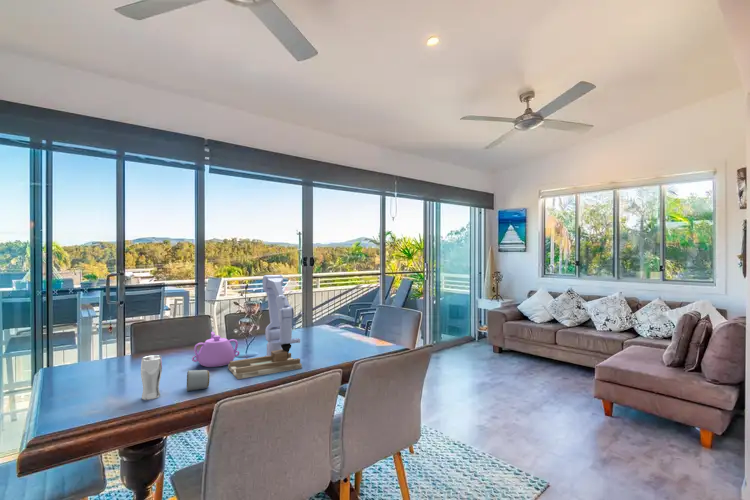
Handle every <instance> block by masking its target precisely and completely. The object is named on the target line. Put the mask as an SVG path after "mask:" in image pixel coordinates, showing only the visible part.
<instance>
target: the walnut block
mask: <svg viewBox="0 0 750 500" xmlns="http://www.w3.org/2000/svg"><path fill="white" fill-rule="evenodd" d="M284 360H288V357H287V351H285V350H283V349H281V350H276V351H271V362H278V361H284Z"/></svg>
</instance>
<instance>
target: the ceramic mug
mask: <svg viewBox="0 0 750 500" xmlns="http://www.w3.org/2000/svg"><path fill="white" fill-rule="evenodd" d="M208 387H210V371H209V370H207V369H199V370H198V369H197V370H196V369H195V370H187V375H186V391H187V392H190V391H196V390H202V389H203V390H204V389H207V388H208Z"/></svg>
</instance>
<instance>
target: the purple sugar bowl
mask: <svg viewBox="0 0 750 500" xmlns="http://www.w3.org/2000/svg"><path fill="white" fill-rule="evenodd" d="M231 342H235V347H234V346H233V345H232V343H231ZM198 346H201V347H200V349H199V351H197V350H198V349H197V347H198ZM238 346H239V343H238V340H237V339H235V338H232V339H228V338H226V337H221V335H218V334H217V335H216V332H214V331H211V332H210V338H209V339H208V338H207V339H206V340H205V341H204V342H201V341H200V342H198V343H195V345H194V347H193V351H194V355H193V356H192V358H191V361H192V362H193V363H194V362H195V363H197V362H198V363H199V364H200V365H201V366H202V367H206V368H215V367H216V368H218V367H223V366H228V365H229V361H234V359H235V357H239V355H240V351H239V350H237V349H238Z"/></svg>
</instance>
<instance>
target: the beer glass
mask: <svg viewBox="0 0 750 500" xmlns="http://www.w3.org/2000/svg"><path fill="white" fill-rule="evenodd" d="M162 359H163V357H162V356H161V355H157V354H156V355H148V356H144V357H142V358H141V363H140V378H141V382H142V384H141V385H142V394H141V400H143V401H152V400H155V399H158V398H160V397H161V392H160V381H161V378H162V371H163V364H162V363H163V361H162ZM159 396H160V397H159ZM151 399H152V400H151Z"/></svg>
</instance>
